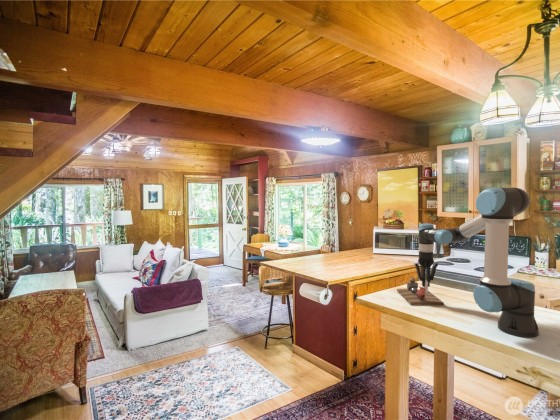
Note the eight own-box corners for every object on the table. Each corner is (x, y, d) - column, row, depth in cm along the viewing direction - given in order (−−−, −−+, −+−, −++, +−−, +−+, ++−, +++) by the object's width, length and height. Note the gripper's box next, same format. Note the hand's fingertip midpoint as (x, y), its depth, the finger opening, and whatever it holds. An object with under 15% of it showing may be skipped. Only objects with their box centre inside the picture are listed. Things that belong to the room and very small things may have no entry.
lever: (427, 300, 185) (427, 289, 185) (416, 300, 186) (416, 288, 186) (419, 290, 205) (419, 279, 204) (409, 289, 206) (409, 279, 205)
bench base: (443, 305, 183) (444, 288, 182) (410, 305, 184) (410, 288, 183) (425, 291, 209) (426, 276, 208) (396, 291, 210) (397, 276, 209)
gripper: (435, 249, 190) (434, 290, 191) (412, 249, 190) (411, 290, 192) (440, 252, 182) (440, 294, 183) (416, 252, 183) (416, 294, 184)
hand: (425, 292), depth 188 cm, fingers closed
